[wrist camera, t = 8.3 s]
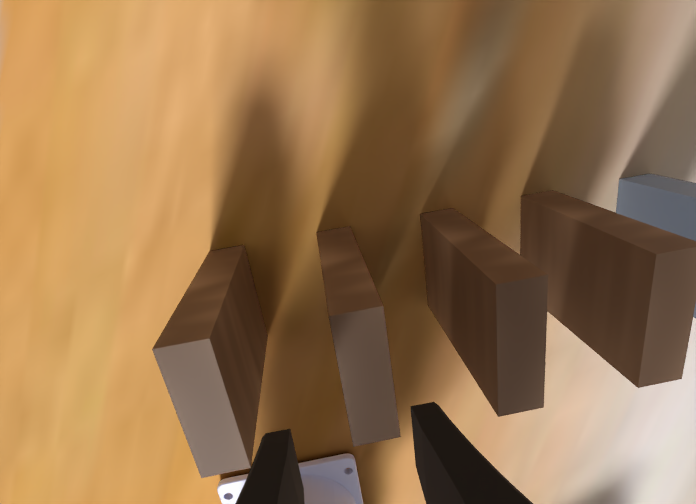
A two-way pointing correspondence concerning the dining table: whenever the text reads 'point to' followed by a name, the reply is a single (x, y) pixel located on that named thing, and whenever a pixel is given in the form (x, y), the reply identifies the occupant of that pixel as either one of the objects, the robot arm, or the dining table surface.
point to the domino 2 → (358, 338)
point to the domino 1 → (216, 362)
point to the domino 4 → (614, 283)
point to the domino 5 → (660, 203)
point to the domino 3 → (488, 308)
